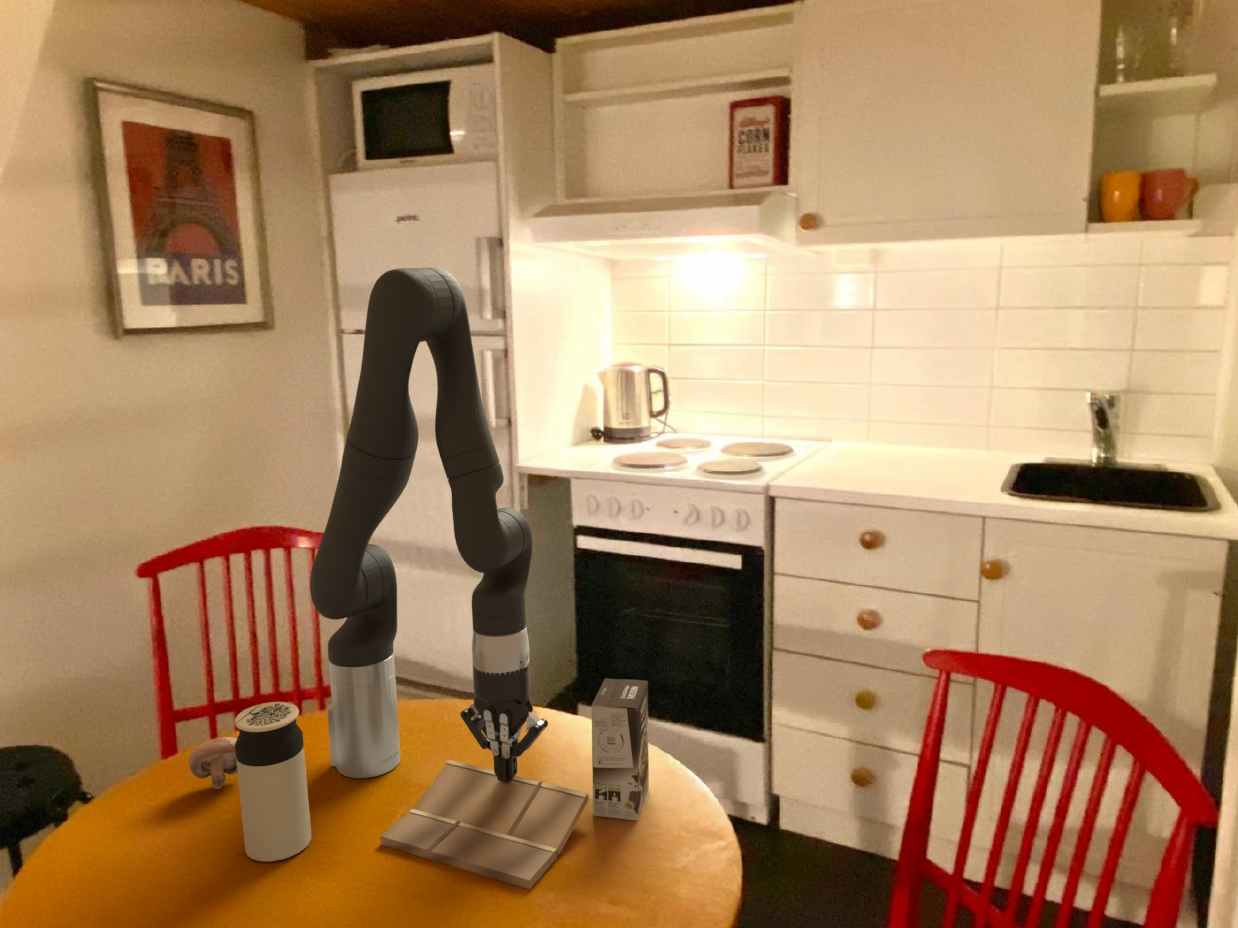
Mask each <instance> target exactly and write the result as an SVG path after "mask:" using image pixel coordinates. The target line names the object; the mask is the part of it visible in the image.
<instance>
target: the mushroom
mask: <svg viewBox="0 0 1238 928" xmlns="http://www.w3.org/2000/svg"><path fill="white" fill-rule="evenodd" d="M237 738H238V737H232V736H231V737H230V736H224V737H223V736H222V737H218V738H215V739H211V740H208V741H205V742H202V743H201V744H199V745H198V746H196V747H195V748H194V750H193V751H192V752H191V753H190V755H189V758H188V767H189V771H190V772H191V773H192V774H193V775H194V776H195V777H196V778H198V779H199V778H200V779H207V778H208V777H210V778H211V783H212V787H213V789H214V790H220V789H222V787H223V785H224V784H225V782H226V780H227V778H226V777H227V776H226V774H227V775H229V776H233V775H236V774H238V772H237V762H236V752H235V743H236V740H237Z"/></svg>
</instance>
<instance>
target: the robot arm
mask: <svg viewBox="0 0 1238 928" xmlns="http://www.w3.org/2000/svg"><path fill="white" fill-rule="evenodd" d="M369 295H370V296H369V299H368V305H367V311H366V319H365V320H366V321H365V327H364V338H363V349H362V359H361V367H360V372H359V373H360V374H359V377H358V378H359V379H358V383H357V389H356V395H355V400H354V406H353V410H352V415H351V420H350V423H349V426H348V427H349V428H348V430H347V433H346V438H345V444H344V449H343V452H342V459H341V463H340V470H339V474H338V480H337V483H336V488H335V492H334V495H333V500H332V504H331V508H330V512H329V514H328V515H329V516H328V520H327V523H326V526H325V528H324V532H323V534H322V537H321V541H320V542H319V546H318V549H317V551H316V555H315V557H314V561H313V563H312V567H311V572H310V579H309V592H310V598H311V601H312V604H313V606H314V608H315V610H316V611H317V612H318V613H319V614H320V615H321V616H322V617H324V618H326V619H329V620H342V619H345V620H344V622H343V624H342V625H341V626H340V627H338V629H337V630H336V631H335V632H334V633H333V634H332V635H331V636H330V638H329V639H328V643H327V658H328V669H329V672H328V673H329V680H330V681H329V682H330V683H329V684H330V695H331V703H330V704H328V706H327V708H326V713H327V714H326V715H327V724H328V725H327V726H328V736H329V738H328V739H329V748H330V749H329V750H330V751H329V752H330V764H331V766H332V767H334V768H336V769H337V771H338V773H340V775H343V776H344V777H348V778H354V779H369V778H373V777H378V776H381V775H384V774H386V773H388V772H390V771H392V770H394V769H395V768H396V767H397V766H398V765H399V764H400V762H401V748H400V747H401V746H400V727H399V713H398V712H399V711H398V700H397V699H398V698H397V695H398V694H397V683H396V668H395V665H396V664H395V651H394V643H395V639H396V636H397V634H398V633H397V632H398V583H397V582H398V581H397V574H396V570H395V569H396V568H395V566H394V564H393V561H392V559H391V557H390V555H389V554H388V552H387V551H386V550H385V549H384V548H383V547H381V546H379V545H378V544H373V543H370V540H371V539H372V537H373V535H374V533H375V531H376V529H377V528H378V527H379V525H380V524H381V523H382V521H383V520H384V519H385V517H386V516H387V515H388V513H390V511H391V509H392V508H393V507H394V505H396V503H397V501H398V500H399V498H400V497H401V495H402V494H403V492H404V491H405V488H406V486H407V485H408V482H409V480H410V476H411V473H412V470H413V466H414V462H415V459H416V454H417V450H418V447H419V446H418V445H419V437H420V436H419V426H418V422H417V417H416V415H415V411H414V407H413V405H412V402H411V401H412V400H411V398H410V388H409V385H410V377H411V376H410V375H411V372H412V368H413V363H414V360H415V356H416V353H417V349H418V347H419V344H420V343H422V342H423V343H424V342H425V343H426V345H427V347H428V349H429V352H430V355H431V357H432V360H433V363H434V367H435V371H436V383H437V384H436V386H437V389H436V390H437V391H436V392H437V395H436V406H435V419H434V430H435V431H434V434H435V442H436V446H437V447H436V448H437V450H438V454H439V457H440V461H441V463H442V467H443V470H444V473H445V476H446V479H447V482H448V485H449V488H450V491H451V492H450V493H451V511H452V522H453V523H452V525H453V533H454V539H455V540H454V541H455V545H456V549H457V550H458V552H459V555H460V556H461V558H462V559H463V561H464V562H465V563H466V565H467V566H469V568H471V569H472V570H473V571H475V572H478V573H482V574H483V575H482V578H481V579H480V581H479V582H478V584H477V585H476V586H475V587H474V589H473V591H472V594H471V617H472V637H471V638H472V639H471V657H472V660H471V661H472V676H473V677H472V678H473V680H472V681H473V693H474V696H475V697H474V699H473V703H472V704H470V705H469V706H467V707H466V708H465V709H464V710H463V709H462V711H460V717H461V719H462V720H463V722H464V724H465V726H467V728H468V729H469V731H470V733H471V734H472V736H473V737H474V739H475V740H476V742H477V744H478V745H479V747H480V748H481V749H483V750H486V749H487V750H488V751H490V752H491V754H492V756H493V770H494V772H495V775H496V776H497V780H499V781H503V782H507V783H508V782H509V781H510V780H511V779H512V778H513V777H514V776H517V774H518V758H520V757H521V756H522V755H523V754H524V753H525V752H526V751H527V750H529V749H530V747H531V746H532V745H533V744H534V742H536V741H537V739H538V738H539V737H540V736H541V734H542V733H543V732H544V731H545V730H546V728H548V726H549V722H548V720H547V719H545V718H541V719H540V718H539V717H538V716H537V715H536V714H535V713H534V712H533V711H534V708H533V703H532V702H531V700H530V693H531V664H530V662H531V661H530V660H531V659H530V658H531V655H530V642H529V635H528V629H527V614H526V613H527V610H526V597H525V595H526V591H527V589H526V588H527V584H528V580H529V574H530V570H531V569H530V568H531V562H532V561H531V560H532V555H533V535H532V530H531V527H530V523H529V522H528V520H527V519H526V517H525V515H523V513H522V512H520V511H519V510H517V509H515V508H513V507H512V508H511V507H501V508H498V505H497V493H498V491H499V490H500V488H501V487H502V486H503V484H504V481H505V480H504V473H503V472H504V471H503V468H502V465H501V463H500V458H499V456H498V452H497V449H496V447H495V443H494V440H493V436H492V435H491V430H490V427H489V424H488V420H487V417H486V412H485V408H484V405H483V401H482V396H481V391H480V384H479V378H478V372H477V371H478V370H477V365H476V359H475V351H474V346H473V340H472V332H471V327H470V321H469V319H470V318H469V313H468V307H467V303H466V299H465V296H464V292H463V289H462V287H461V286H460V283H459V281H457V279H456V277H455V276H453V275H452V273H450V272H448V271H447V270H445V269H443V268H438V267H411V268H409V267H407V268H405V267H403V268H395V269H391V270H386V271H385V272H383V274H381V275H380V276H379V277H378V278H377V280H376V282H375V283H374V284H373V286H372V289H371V292H370V294H369ZM525 723H526V725H525ZM524 725H525V732H526V734H525V735H524V736H523V737H522V739H521V740H520V736H521V733H522V728H523V726H524Z"/></svg>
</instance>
